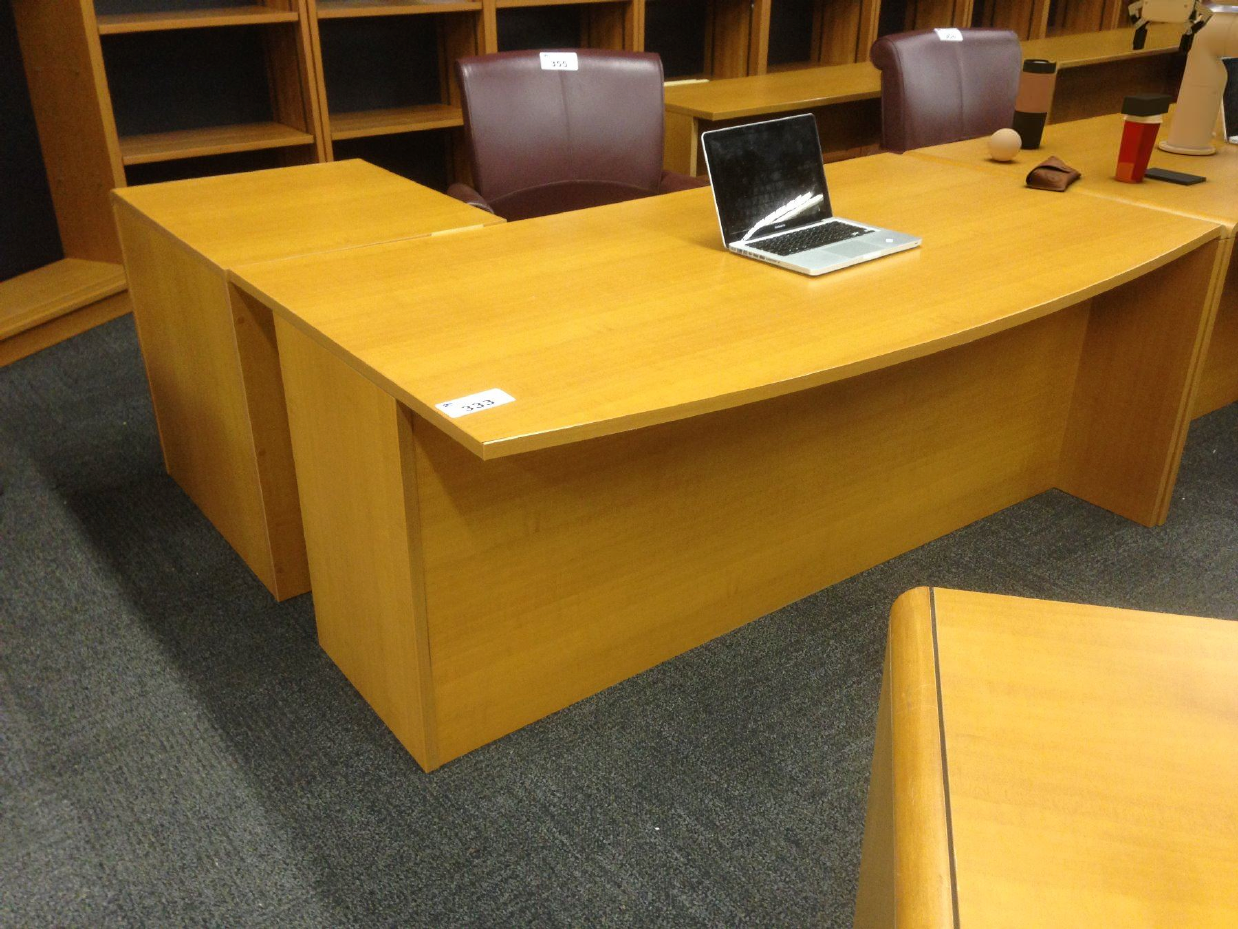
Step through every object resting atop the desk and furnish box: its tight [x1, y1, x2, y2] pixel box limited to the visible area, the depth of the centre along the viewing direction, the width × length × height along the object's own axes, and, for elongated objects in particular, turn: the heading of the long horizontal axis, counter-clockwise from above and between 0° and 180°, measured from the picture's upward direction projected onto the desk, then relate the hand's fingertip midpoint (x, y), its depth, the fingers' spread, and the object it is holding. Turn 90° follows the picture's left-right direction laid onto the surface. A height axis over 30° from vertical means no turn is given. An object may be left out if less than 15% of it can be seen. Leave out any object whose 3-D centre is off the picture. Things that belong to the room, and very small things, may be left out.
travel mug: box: [1011, 58, 1058, 150], centre depth 256 cm, size 8×8×20 cm
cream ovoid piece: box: [987, 128, 1022, 162], centre depth 244 cm, size 10×7×7 cm
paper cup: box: [1114, 114, 1164, 184], centre depth 226 cm, size 8×8×14 cm
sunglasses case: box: [1025, 155, 1082, 192], centre depth 226 cm, size 18×7×7 cm, turn 149°
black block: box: [1120, 92, 1173, 117], centre depth 222 cm, size 10×5×4 cm, turn 127°
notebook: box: [1144, 166, 1207, 186], centre depth 232 cm, size 8×12×1 cm, turn 37°
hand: (1159, 52), depth 218 cm, fingers open, 9 cm apart
